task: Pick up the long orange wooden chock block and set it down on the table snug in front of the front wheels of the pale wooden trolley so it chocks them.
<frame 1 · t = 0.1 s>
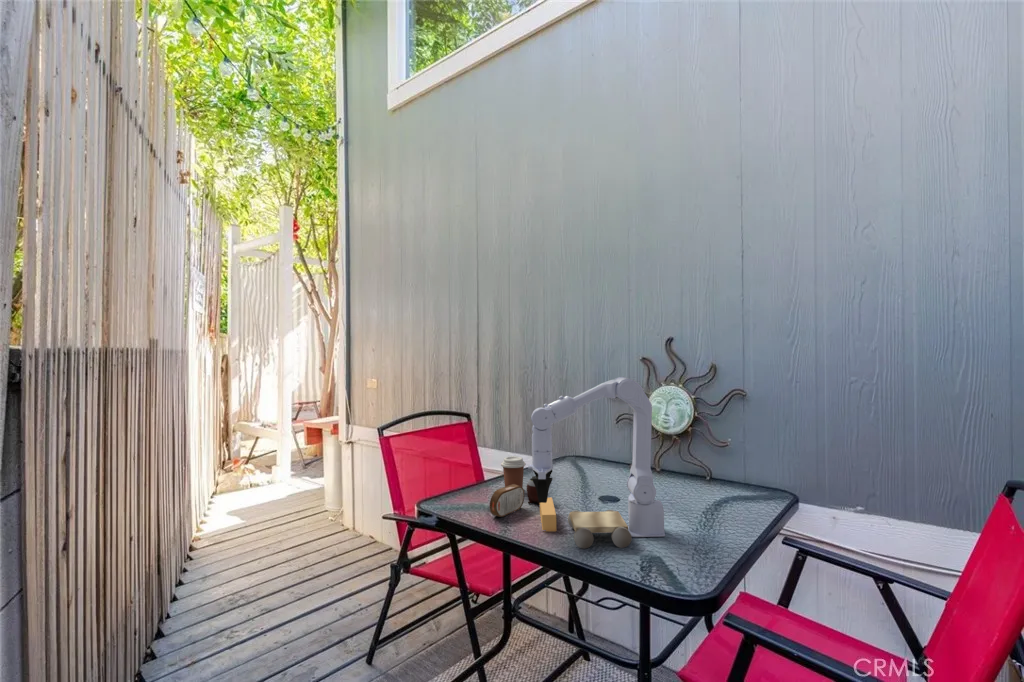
hand: (543, 498, 139), 10 cm above the table, tool pointing down, fingers open, 7 cm apart
mate gourd: (537, 503, 166), on the table
tin: (508, 514, 156), on the table
coffee cup: (513, 491, 180), on the table
trolley: (598, 537, 135), on the table
chock: (547, 522, 148), on the table
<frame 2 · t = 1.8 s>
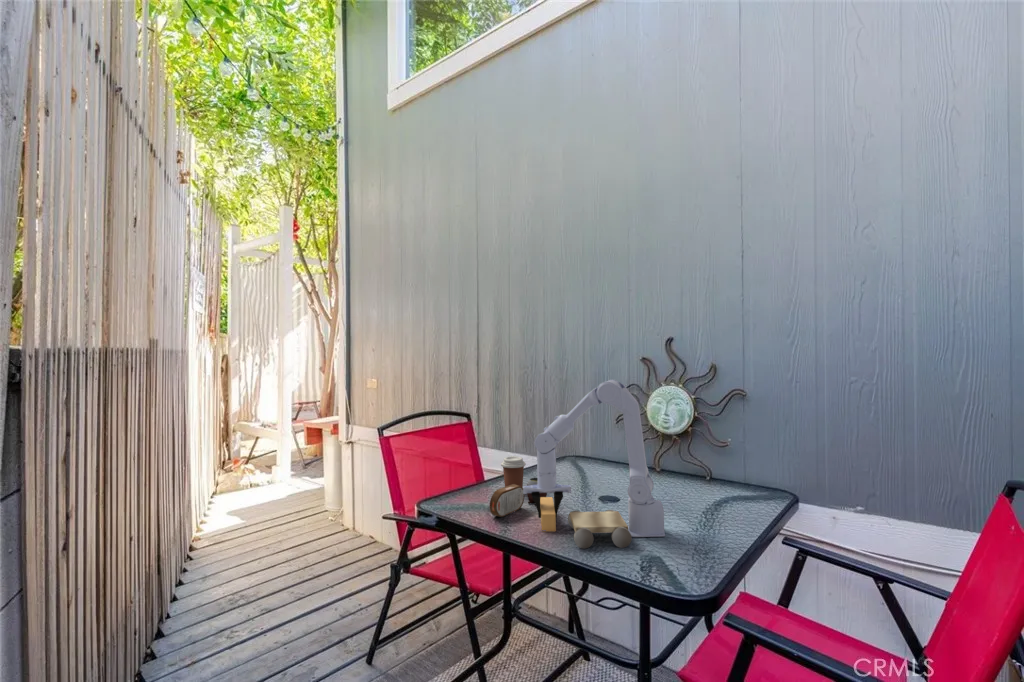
hand: (547, 516, 148), 1 cm above the table, tool pointing down, fingers closed on chock, 4 cm apart
chock: (547, 521, 148), on the table, touching gripper
everything else where it was.
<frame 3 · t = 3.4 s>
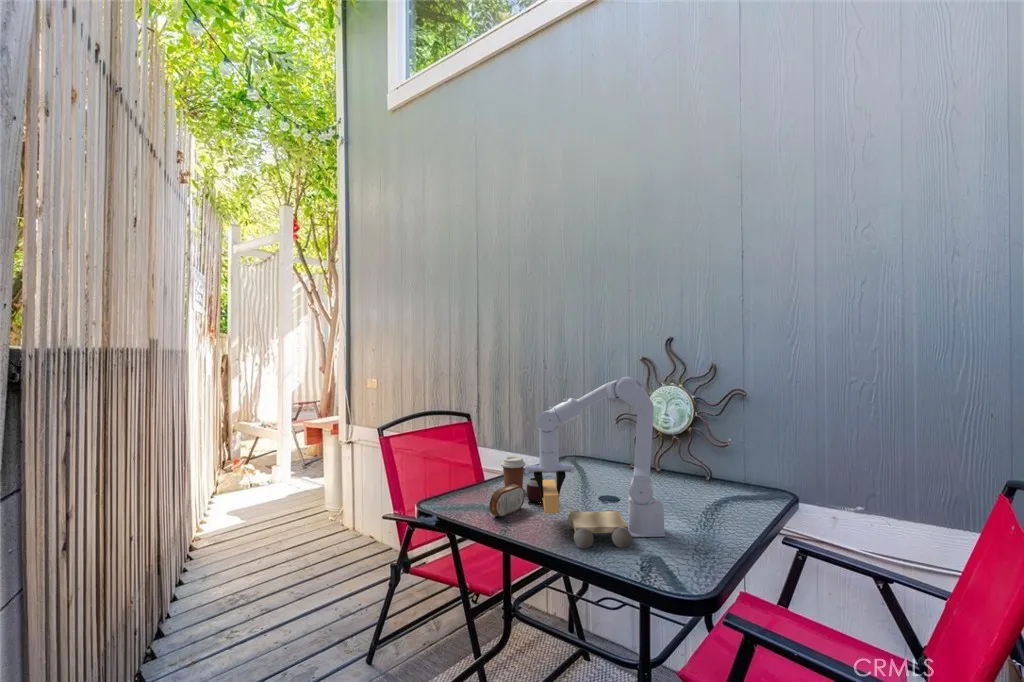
hand: (549, 496, 145), 8 cm above the table, tool pointing down, fingers closed on chock, 4 cm apart
chock: (550, 503, 145), point 6 cm above the table, touching gripper
everything else where it was.
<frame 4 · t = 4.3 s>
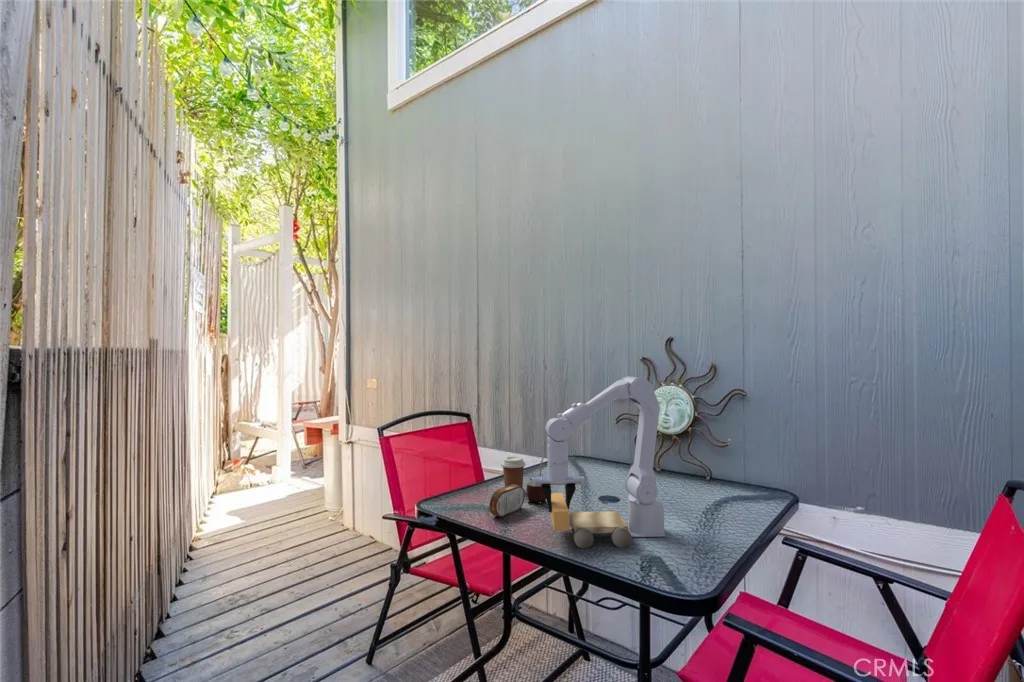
hand: (558, 511, 135), 7 cm above the table, tool pointing down, fingers closed on chock, 4 cm apart
chock: (558, 519, 136), point 5 cm above the table, touching gripper
everything else where it was.
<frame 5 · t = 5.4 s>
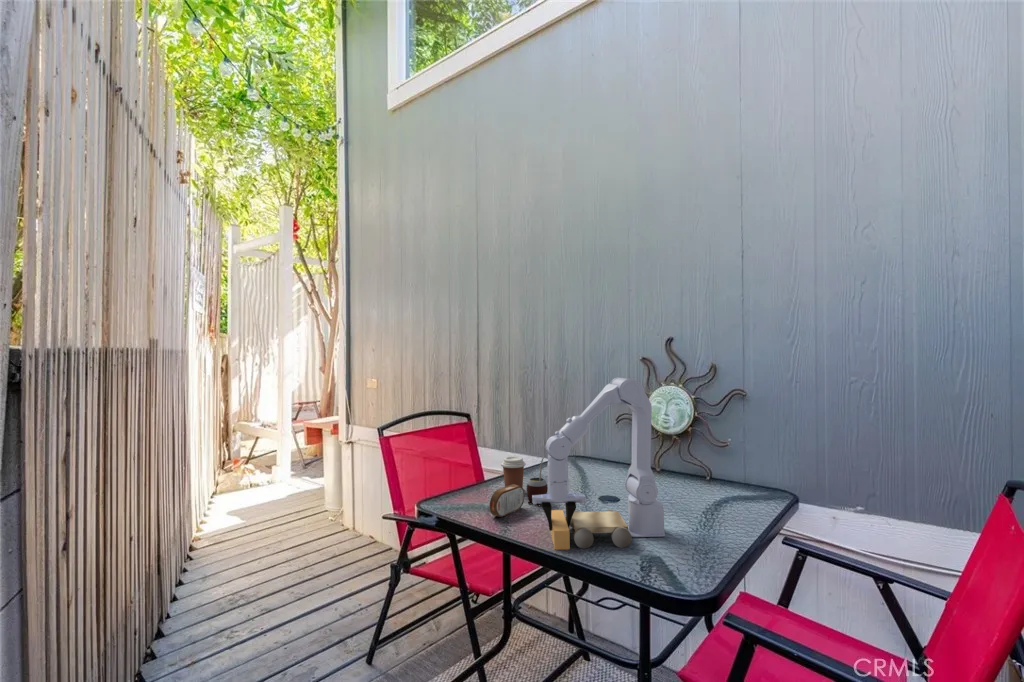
hand: (559, 529, 135), 2 cm above the table, tool pointing down, fingers closed on chock, 4 cm apart
chock: (559, 537, 136), on the table, touching gripper
everything else where it was.
when the fingers open (2 cm above the table, at t = 5.9 s): chock stays where it is, on the table.
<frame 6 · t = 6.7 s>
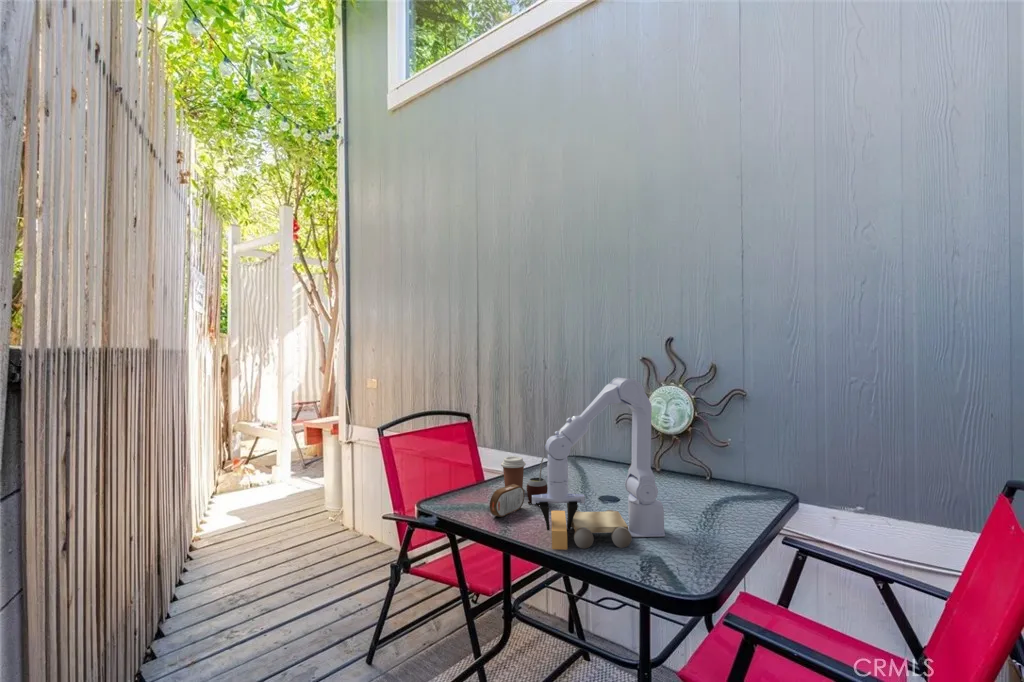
hand: (558, 529, 135), 2 cm above the table, tool pointing down, fingers open, 5 cm apart
chock: (559, 538, 136), on the table
everything else where it was.
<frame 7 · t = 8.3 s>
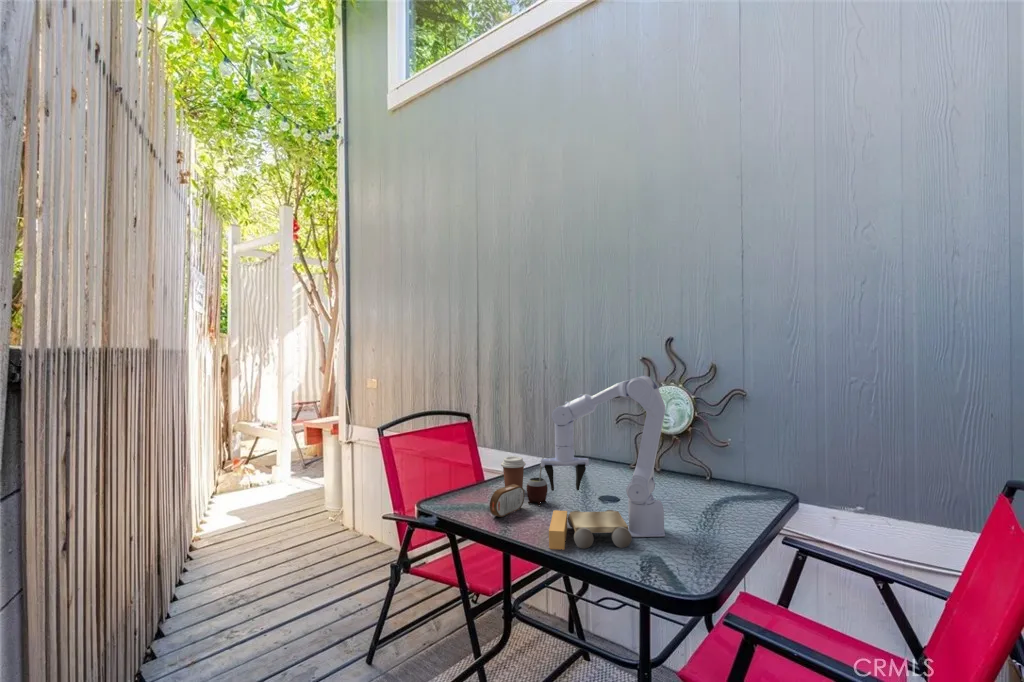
hand: (565, 489, 149), 9 cm above the table, tool pointing down, fingers open, 7 cm apart
nothing on the table moved.
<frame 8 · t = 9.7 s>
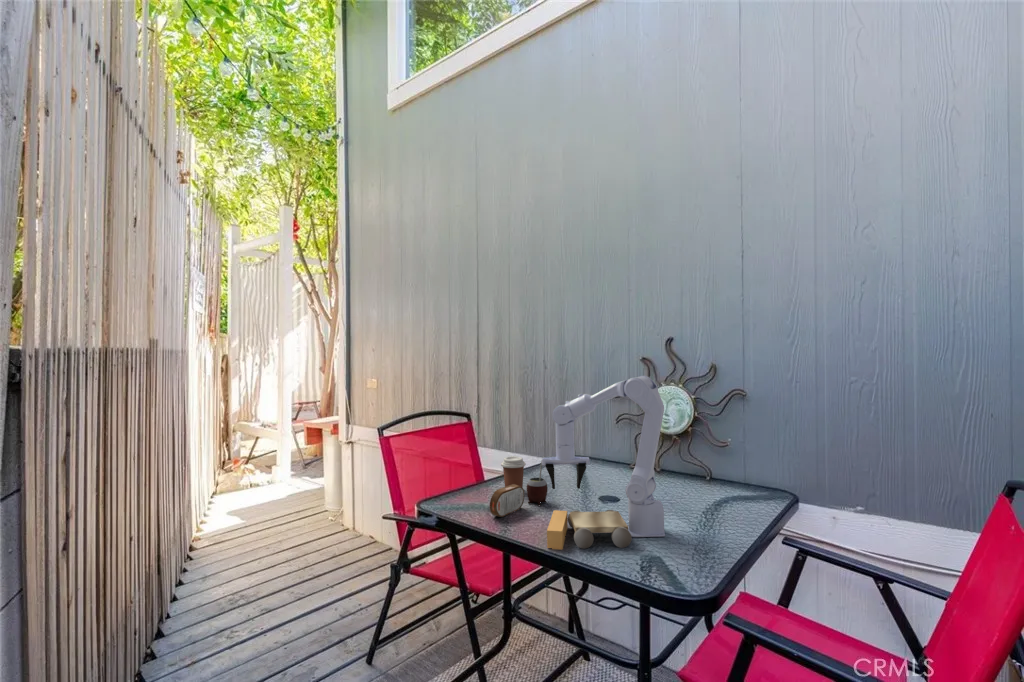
hand: (565, 488, 150), 9 cm above the table, tool pointing down, fingers open, 7 cm apart
nothing on the table moved.
at the end: chock 0.6 cm from the target spot, on the table; chock tilted 0°; the gripper is holding nothing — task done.
